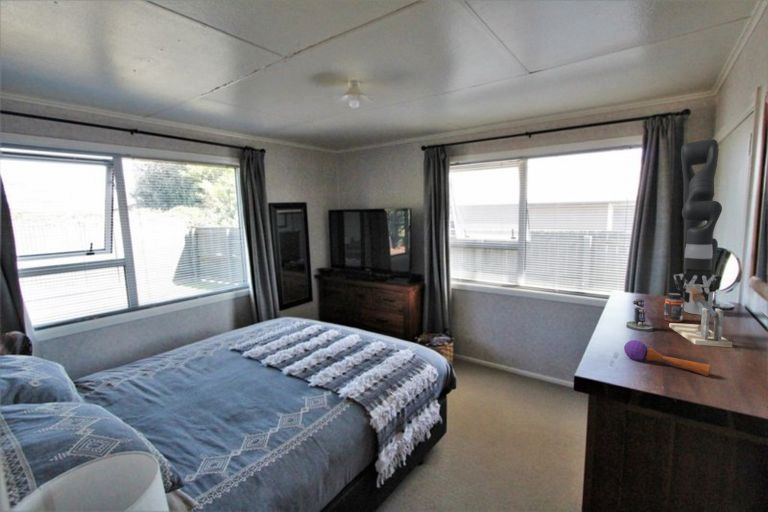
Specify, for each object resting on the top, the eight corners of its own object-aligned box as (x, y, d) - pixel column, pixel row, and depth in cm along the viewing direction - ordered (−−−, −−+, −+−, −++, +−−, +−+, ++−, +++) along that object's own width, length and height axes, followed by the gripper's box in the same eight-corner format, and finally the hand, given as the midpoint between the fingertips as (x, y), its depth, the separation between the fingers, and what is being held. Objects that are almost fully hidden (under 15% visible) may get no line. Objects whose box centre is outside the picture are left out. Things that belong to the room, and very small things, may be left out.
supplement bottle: (686, 322, 144) (688, 295, 143) (671, 322, 144) (673, 295, 143) (674, 318, 150) (676, 292, 149) (660, 318, 150) (661, 292, 149)
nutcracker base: (669, 326, 139) (671, 296, 138) (700, 328, 136) (702, 298, 135) (695, 344, 120) (697, 310, 119) (732, 347, 117) (735, 311, 116)
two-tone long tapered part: (709, 366, 95) (622, 342, 109) (705, 385, 96) (620, 359, 111) (712, 356, 98) (628, 334, 113) (709, 374, 100) (626, 351, 115)
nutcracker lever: (715, 324, 120) (719, 313, 118) (706, 323, 121) (709, 313, 119) (693, 297, 134) (696, 287, 132) (685, 297, 135) (687, 287, 133)
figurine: (621, 326, 141) (623, 297, 139) (634, 323, 144) (635, 294, 143) (645, 332, 133) (646, 301, 132) (657, 329, 137) (659, 298, 136)
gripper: (716, 255, 130) (713, 301, 132) (669, 255, 134) (667, 299, 136) (729, 258, 123) (725, 306, 125) (679, 257, 127) (676, 303, 129)
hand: (694, 302), depth 130 cm, fingers open, 4 cm apart
